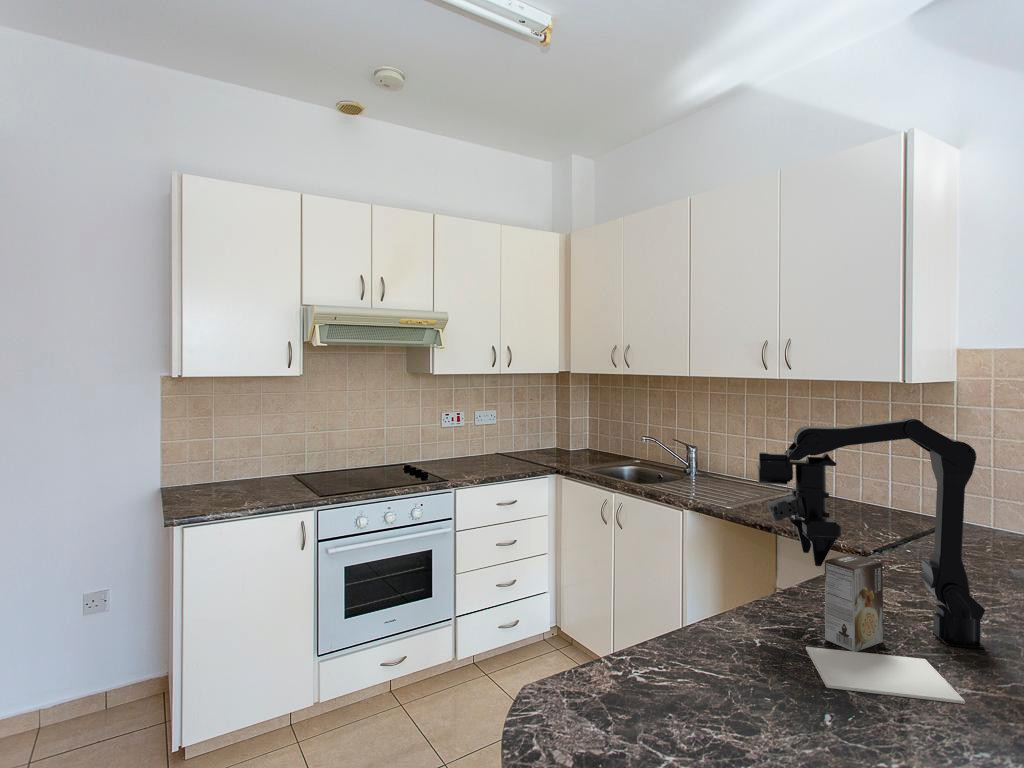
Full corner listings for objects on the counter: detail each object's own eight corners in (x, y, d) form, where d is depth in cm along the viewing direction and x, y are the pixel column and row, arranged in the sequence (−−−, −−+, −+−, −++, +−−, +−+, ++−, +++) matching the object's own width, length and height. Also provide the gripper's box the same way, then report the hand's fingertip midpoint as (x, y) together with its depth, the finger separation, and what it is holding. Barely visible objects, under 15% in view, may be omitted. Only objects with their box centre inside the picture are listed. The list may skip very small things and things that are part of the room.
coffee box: (851, 630, 119) (852, 552, 119) (883, 642, 113) (884, 561, 113) (823, 639, 114) (823, 559, 114) (855, 653, 109) (855, 568, 109)
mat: (925, 661, 106) (925, 659, 106) (964, 703, 92) (964, 700, 92) (805, 649, 110) (805, 646, 110) (826, 687, 97) (826, 684, 97)
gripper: (761, 477, 133) (762, 544, 133) (779, 493, 115) (780, 571, 115) (813, 478, 131) (814, 547, 131) (841, 495, 113) (842, 574, 113)
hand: (811, 559), depth 122 cm, fingers open, 9 cm apart
